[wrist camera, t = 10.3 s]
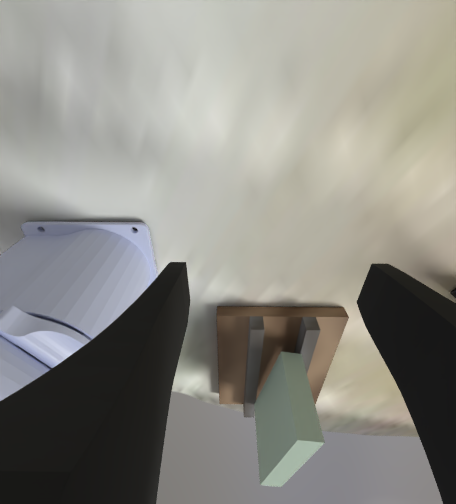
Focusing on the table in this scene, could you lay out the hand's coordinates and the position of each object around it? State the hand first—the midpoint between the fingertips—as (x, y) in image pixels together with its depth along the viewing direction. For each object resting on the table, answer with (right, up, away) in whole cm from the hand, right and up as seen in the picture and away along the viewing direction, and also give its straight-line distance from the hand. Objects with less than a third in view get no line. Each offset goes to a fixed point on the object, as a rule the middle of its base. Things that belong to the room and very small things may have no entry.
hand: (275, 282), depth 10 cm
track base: (+3, -11, +18) cm, 21 cm away
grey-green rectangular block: (+3, -12, +16) cm, 20 cm away
